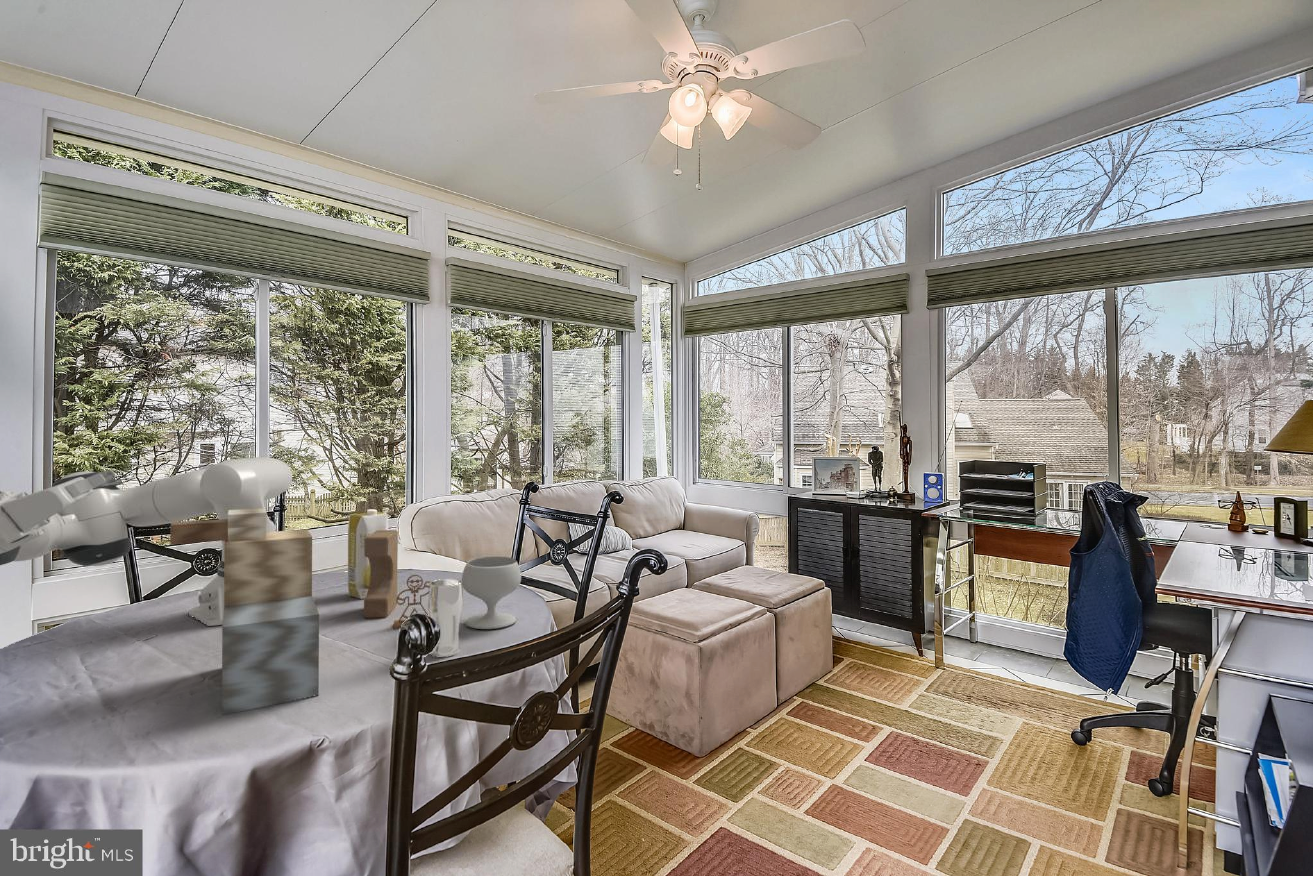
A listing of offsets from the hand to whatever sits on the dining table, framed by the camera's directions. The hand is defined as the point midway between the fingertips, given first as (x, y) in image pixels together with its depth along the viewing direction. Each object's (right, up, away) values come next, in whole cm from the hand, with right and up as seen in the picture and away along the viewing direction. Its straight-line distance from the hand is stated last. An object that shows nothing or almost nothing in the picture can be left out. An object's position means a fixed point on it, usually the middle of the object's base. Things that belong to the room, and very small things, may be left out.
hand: (108, 474), depth 109 cm
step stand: (+24, -39, +6) cm, 46 cm away
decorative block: (+26, -38, +49) cm, 68 cm away
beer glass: (+52, -39, +22) cm, 69 cm away
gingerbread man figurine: (+38, -39, +40) cm, 67 cm away
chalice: (+56, -39, +42) cm, 80 cm away
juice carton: (+16, -38, +64) cm, 76 cm away
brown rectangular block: (+15, -13, +8) cm, 21 cm away
